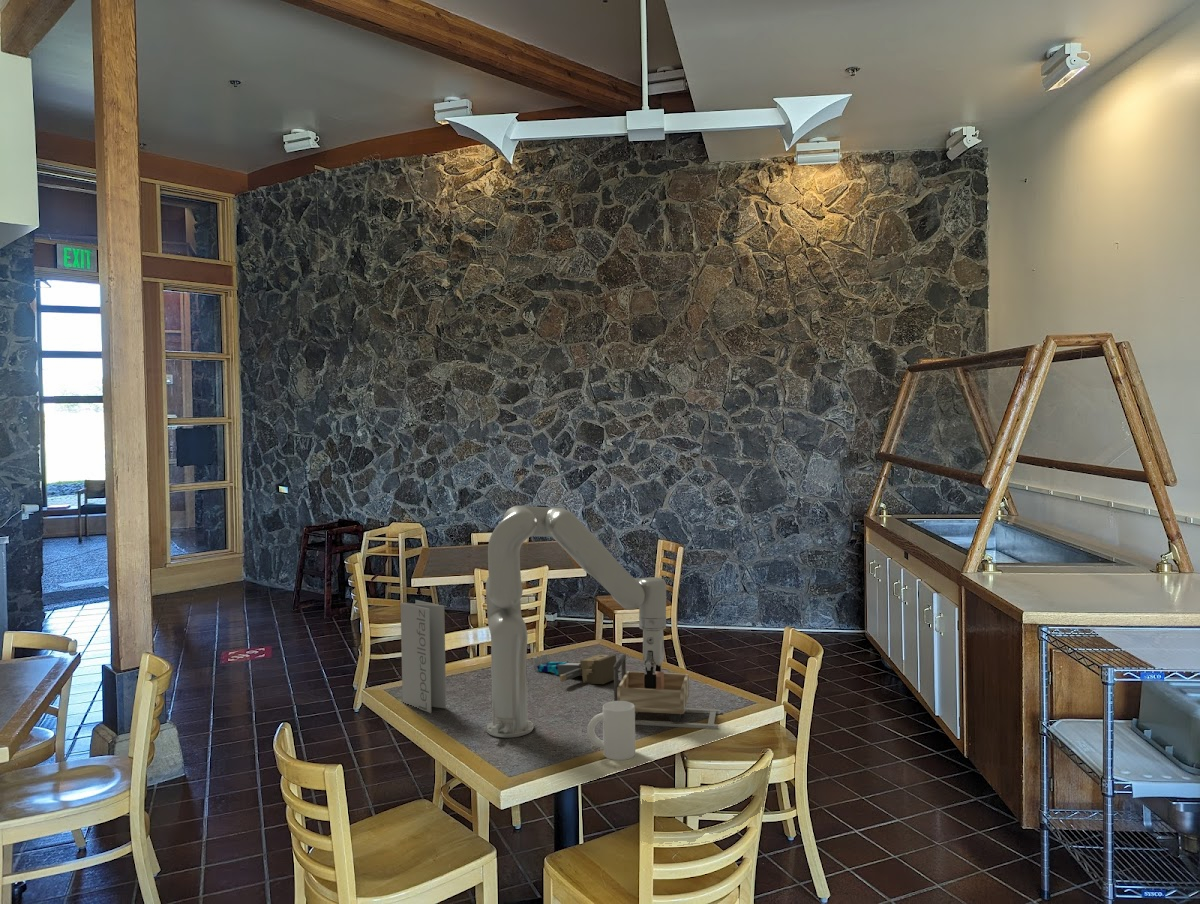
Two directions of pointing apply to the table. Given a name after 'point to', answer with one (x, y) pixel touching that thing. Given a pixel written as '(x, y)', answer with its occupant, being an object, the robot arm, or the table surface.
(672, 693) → the cart
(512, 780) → the table surface
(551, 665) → the toy
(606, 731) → the mug
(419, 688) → the brochure
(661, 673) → the block
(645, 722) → the rails
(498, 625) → the robot arm
